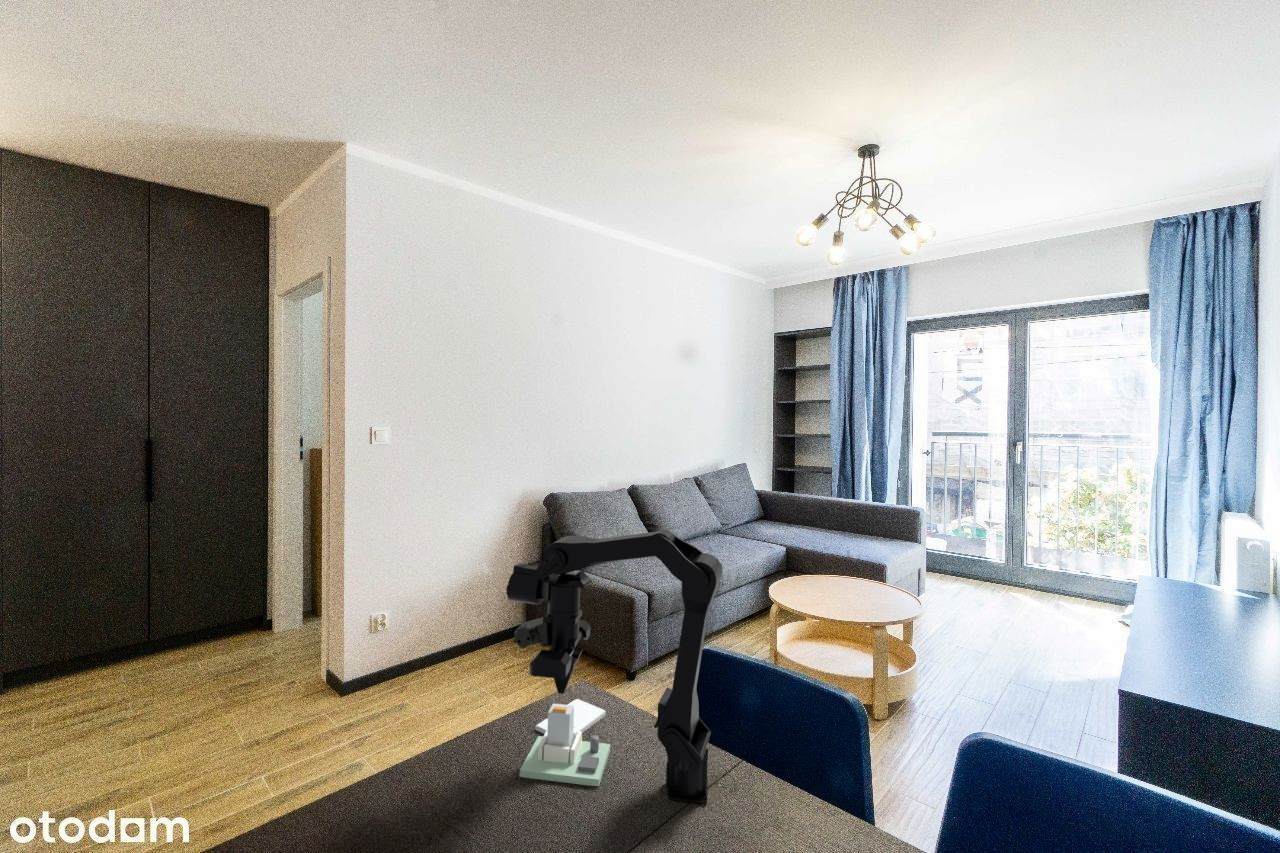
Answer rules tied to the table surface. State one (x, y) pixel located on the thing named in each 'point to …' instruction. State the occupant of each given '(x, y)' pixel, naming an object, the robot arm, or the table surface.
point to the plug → (560, 725)
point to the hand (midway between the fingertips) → (561, 692)
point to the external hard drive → (579, 716)
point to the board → (567, 761)
